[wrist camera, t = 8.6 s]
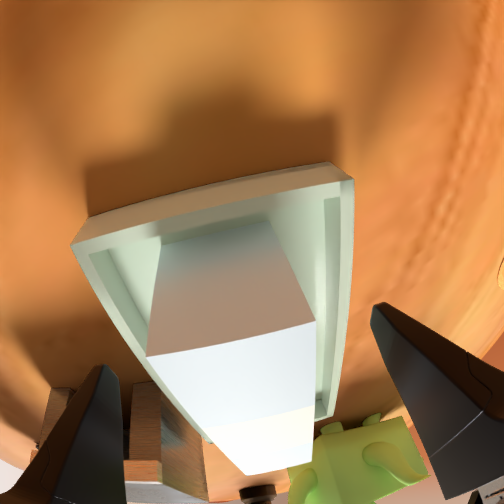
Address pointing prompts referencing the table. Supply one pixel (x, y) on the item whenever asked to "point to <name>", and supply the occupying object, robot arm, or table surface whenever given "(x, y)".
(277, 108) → the table surface
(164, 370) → the white square column
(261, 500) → the dark turned peg
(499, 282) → the beer glass
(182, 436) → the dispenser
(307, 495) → the kettle
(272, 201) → the dish
